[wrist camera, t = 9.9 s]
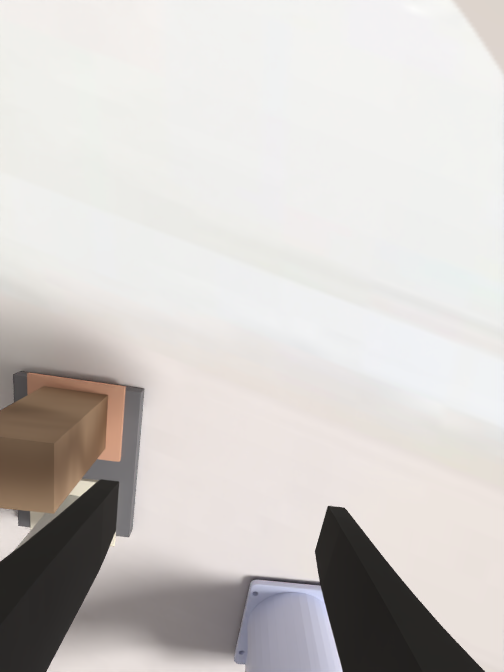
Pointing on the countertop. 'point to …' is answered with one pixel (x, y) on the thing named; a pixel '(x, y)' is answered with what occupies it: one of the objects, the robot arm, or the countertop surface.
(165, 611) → the countertop surface
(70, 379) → the mat
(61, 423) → the walnut block
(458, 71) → the countertop surface
